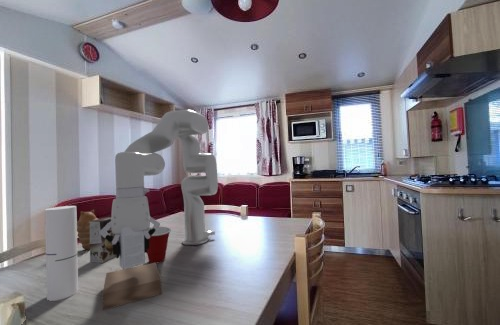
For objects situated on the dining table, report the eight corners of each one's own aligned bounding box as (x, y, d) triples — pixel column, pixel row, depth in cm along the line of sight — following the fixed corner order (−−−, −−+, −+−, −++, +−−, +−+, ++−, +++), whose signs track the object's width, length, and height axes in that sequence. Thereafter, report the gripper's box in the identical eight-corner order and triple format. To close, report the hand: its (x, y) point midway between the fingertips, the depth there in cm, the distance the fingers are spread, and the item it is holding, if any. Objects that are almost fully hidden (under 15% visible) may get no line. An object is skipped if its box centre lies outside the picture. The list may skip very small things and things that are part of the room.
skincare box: (140, 259, 72) (139, 221, 72) (145, 263, 68) (144, 223, 69) (118, 266, 67) (117, 224, 68) (122, 270, 64) (121, 227, 65)
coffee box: (103, 263, 89) (102, 221, 90) (89, 262, 91) (88, 221, 91) (121, 254, 98) (120, 216, 99) (108, 253, 99) (107, 216, 100)
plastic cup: (153, 268, 82) (152, 234, 83) (136, 263, 88) (135, 231, 88) (177, 257, 91) (176, 227, 92) (160, 253, 97) (159, 224, 98)
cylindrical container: (58, 288, 70) (57, 206, 71) (83, 286, 71) (81, 205, 72) (39, 302, 63) (38, 210, 64) (67, 299, 64) (65, 209, 65)
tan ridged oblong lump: (79, 254, 100) (79, 212, 101) (73, 250, 105) (73, 211, 106) (102, 248, 107) (101, 209, 108) (95, 245, 112) (95, 208, 113)
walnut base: (155, 274, 77) (155, 262, 77) (161, 293, 65) (161, 279, 65) (106, 286, 71) (106, 273, 71) (102, 309, 58) (102, 294, 58)
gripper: (159, 190, 76) (161, 245, 76) (96, 195, 68) (98, 256, 67) (163, 192, 69) (164, 251, 69) (93, 197, 61) (95, 265, 61)
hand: (132, 253), depth 68 cm, fingers closed on skincare box, 6 cm apart
